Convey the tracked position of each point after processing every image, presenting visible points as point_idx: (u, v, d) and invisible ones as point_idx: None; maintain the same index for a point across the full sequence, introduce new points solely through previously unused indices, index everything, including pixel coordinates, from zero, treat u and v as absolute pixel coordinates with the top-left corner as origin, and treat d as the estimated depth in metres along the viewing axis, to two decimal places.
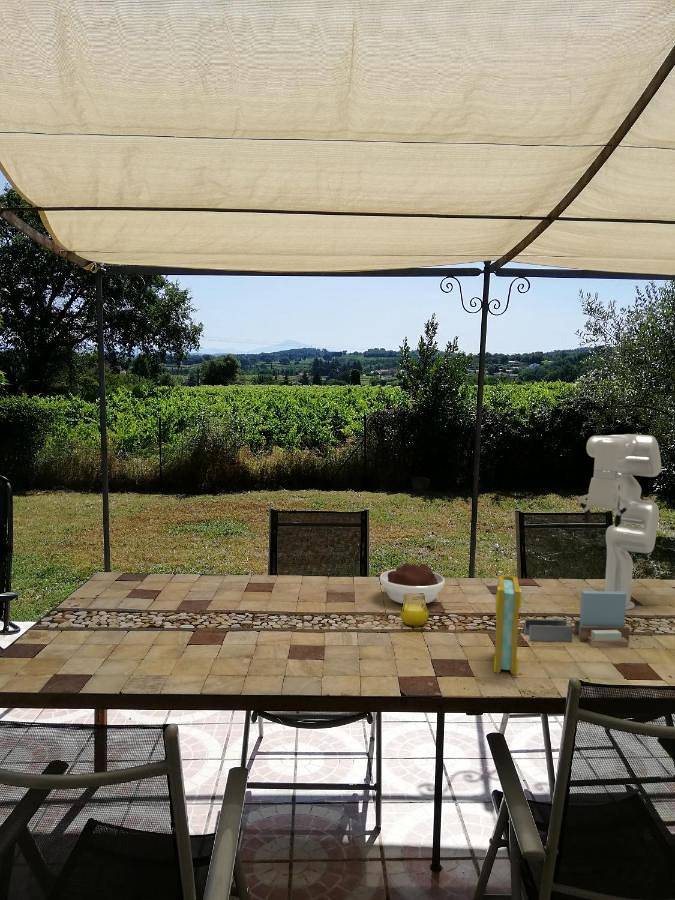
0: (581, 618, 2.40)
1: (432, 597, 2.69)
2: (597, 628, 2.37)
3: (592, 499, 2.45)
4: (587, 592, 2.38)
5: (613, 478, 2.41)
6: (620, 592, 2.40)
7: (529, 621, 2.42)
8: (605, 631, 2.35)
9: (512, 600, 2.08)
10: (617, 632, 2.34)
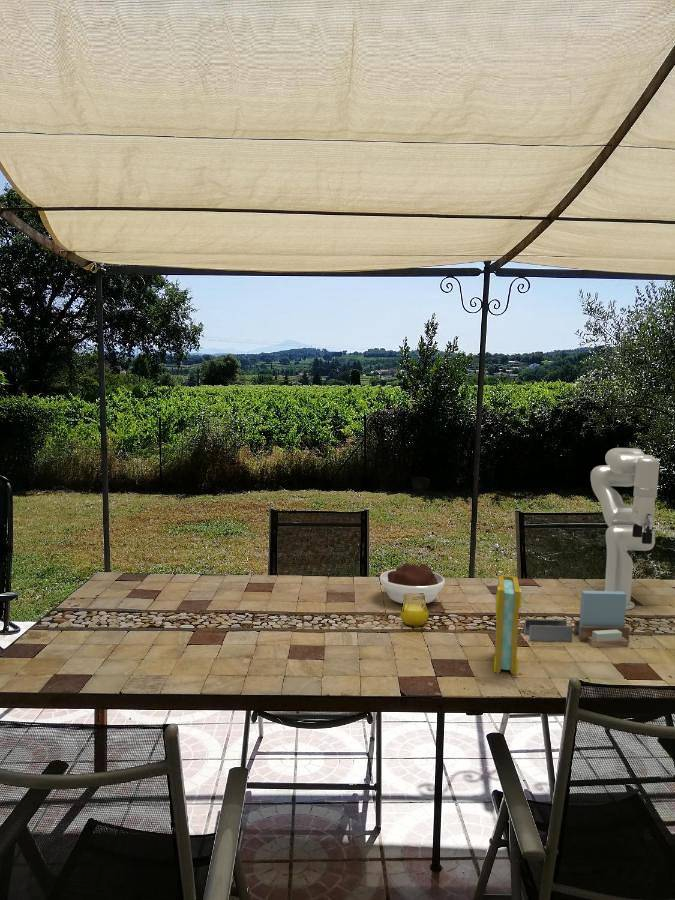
0: (581, 618, 2.40)
1: (432, 597, 2.69)
2: (597, 628, 2.37)
3: None
4: (587, 592, 2.38)
5: None
6: (620, 592, 2.39)
7: (529, 621, 2.42)
8: (606, 631, 2.35)
9: (512, 600, 2.08)
10: (618, 632, 2.34)
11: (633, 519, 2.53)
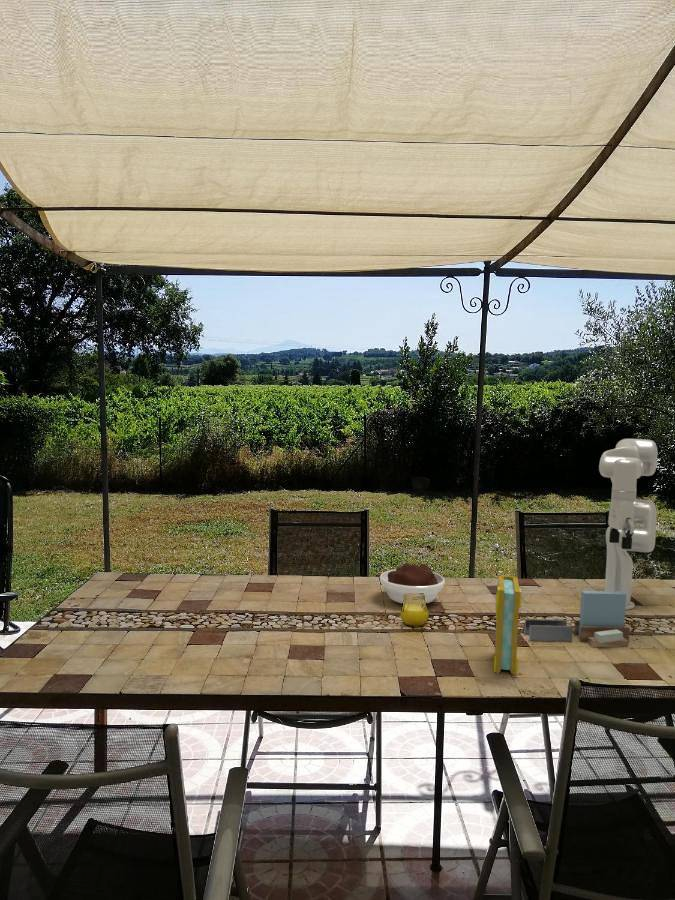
0: (581, 618, 2.40)
1: (432, 597, 2.69)
2: (597, 628, 2.37)
3: None
4: (587, 592, 2.38)
5: None
6: (620, 592, 2.39)
7: (529, 621, 2.42)
8: (607, 632, 2.34)
9: (512, 600, 2.08)
10: (619, 632, 2.34)
11: (611, 524, 2.43)
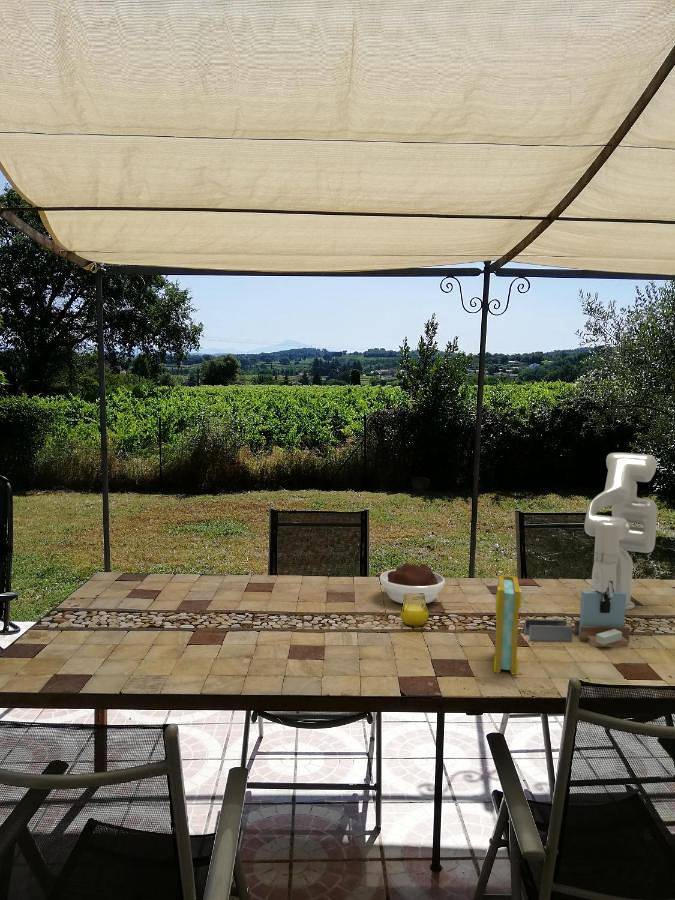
0: (581, 618, 2.40)
1: (432, 597, 2.69)
2: (597, 628, 2.37)
3: None
4: (587, 592, 2.38)
5: None
6: (620, 592, 2.39)
7: (529, 621, 2.42)
8: (608, 633, 2.33)
9: (512, 600, 2.08)
10: (618, 632, 2.34)
11: (594, 585, 2.40)
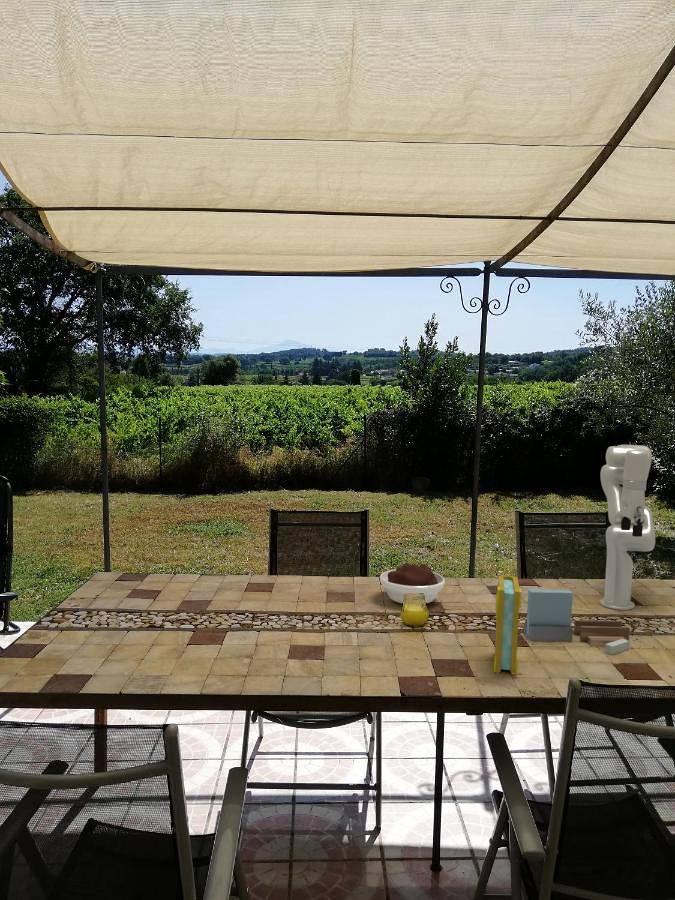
0: (528, 617, 2.40)
1: (432, 597, 2.69)
2: (597, 628, 2.37)
3: None
4: (534, 591, 2.38)
5: None
6: (567, 591, 2.39)
7: None
8: (620, 647, 2.29)
9: (512, 600, 2.08)
10: (626, 648, 2.31)
11: (622, 512, 2.52)
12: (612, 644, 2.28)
